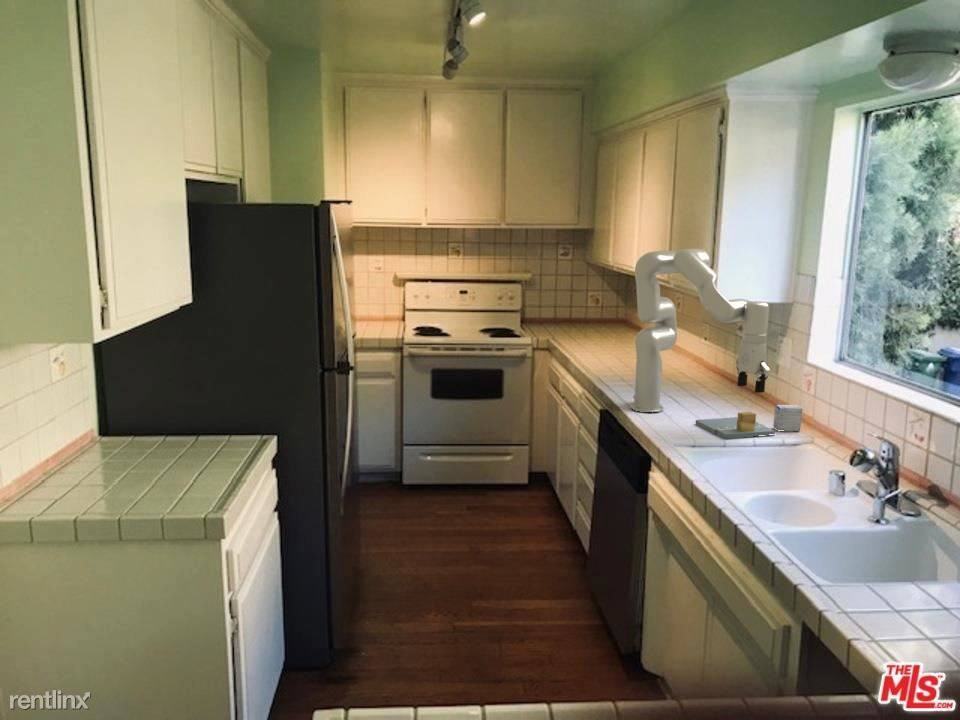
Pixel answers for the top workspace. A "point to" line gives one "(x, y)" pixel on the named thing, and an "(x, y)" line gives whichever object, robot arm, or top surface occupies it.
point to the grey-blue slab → (744, 427)
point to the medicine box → (787, 417)
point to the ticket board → (720, 424)
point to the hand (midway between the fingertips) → (750, 389)
